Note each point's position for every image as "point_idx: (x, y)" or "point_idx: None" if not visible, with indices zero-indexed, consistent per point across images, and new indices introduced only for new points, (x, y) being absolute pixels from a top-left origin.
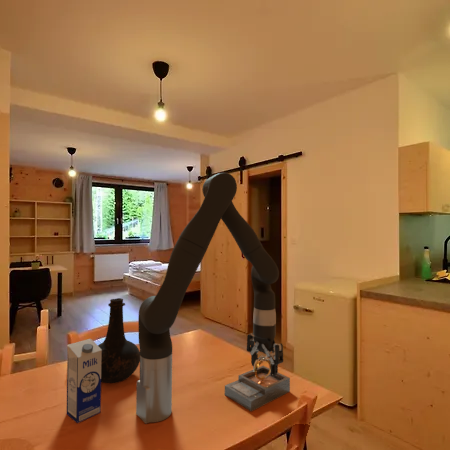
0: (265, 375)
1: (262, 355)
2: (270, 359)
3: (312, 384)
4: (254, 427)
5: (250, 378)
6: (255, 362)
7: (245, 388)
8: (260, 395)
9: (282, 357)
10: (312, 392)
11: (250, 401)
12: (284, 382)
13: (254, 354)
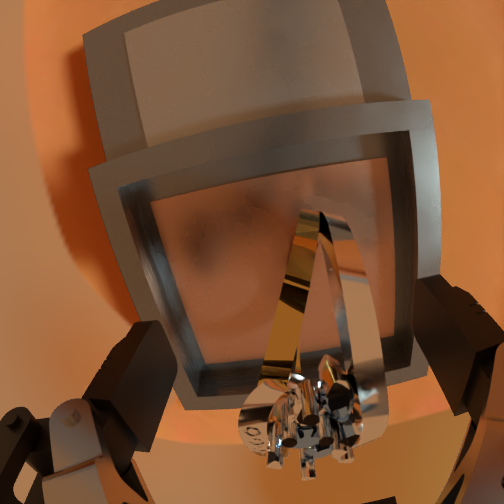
0: None
1: (342, 457)
2: (88, 444)
3: (217, 443)
4: (28, 30)
5: (375, 199)
6: (355, 292)
7: (242, 57)
8: (108, 123)
9: (29, 493)
10: None
11: (91, 33)
12: None
13: (481, 383)
